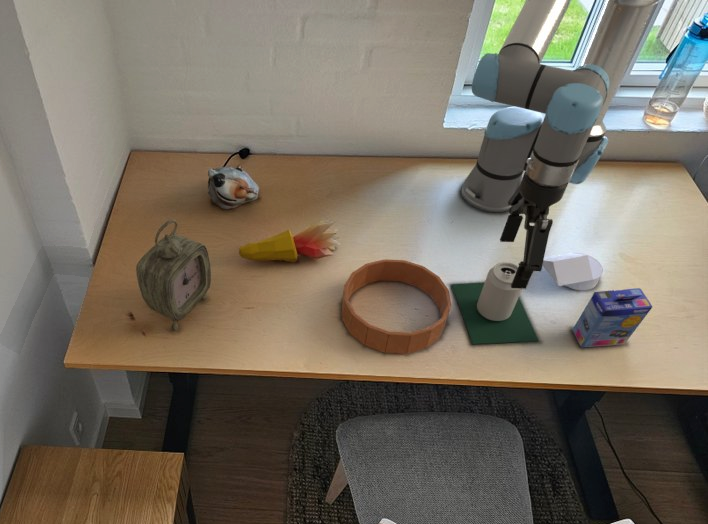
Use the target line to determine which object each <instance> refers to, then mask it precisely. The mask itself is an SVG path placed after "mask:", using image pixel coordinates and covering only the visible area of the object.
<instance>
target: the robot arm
mask: <svg viewBox="0 0 708 524" xmlns="http://www.w3.org/2000/svg"><path fill="white" fill-rule="evenodd" d="M661 1H662V0H606V2H605V5H604V7H603V9H602V11H601V14H600V17H599V20H598V22H597V24H596V27H595V30H594V32H593V34H592V37H591V40H590V42H589V45H588V47H587V50H586V52H585V56H584V57H583V60H582V63H581V65H580V66H577V67H575V68H574V69H572V70H570V69H565V68H561V67H556V66H551V65H547V64H542V61H543V59H544V57H545V55H546V53H547V51H548V48H549V46H550V45H551V43H552V41H553V39H554V36H555V35H556V32H557V30H558V29H559V27H560V25H561V23H562V21H563V19H564V17H565V15H566V12H567V11H568V8H569V7H570V5H571V2H572V0H525V2H524V3H523V6H522V8H521V9H520V12H519V13H518V15H517V17H516V19H515V21H514V22H513V25H512V27H511V28H510V30H509V32H508V34H507V36H506V38H505V40H504V41H503V43H502V46H501V47H500V50H499V51H498V53H496V52H495V53H491V52H487V53H485V54H484V55H483V56H482V57H481V58H480V60H479V62H478V63H477V66H476V68H475V71H474V74H473V78H472V81H471V93H472V95H474V97H477V98H480V99H483V100H485V101H489V102H491V103H498V104H502V105H507V106H509V107H504V108H501V109H498V110H497V111H496V112H494V113H493V114H492V115H491V116H490V117H489V120H488V122H487V126H486V128H485V130H484V133H483V134H484V135H483V138H482V142H481V145H480V146H481V147H480V150H479V153H478V157H477V160H476V163H475V165H474V167H473V168H472V169H471V170H470V172H469V174H468V175H467V177H466V178H465V179H464V181H463V184H462V186H461V196H462V198H463V199H464V200H465V202H467V204H469V205H470V206H472V207H474V208H476V209H478V210H480V211H485V212H490V213H505V212H508V215H507V219H506V221H505V224H504V226H503V230H502V232H501V235H500V238H499V241H500V243H514V242H515V240H516V237H517V235H518V232H519V229H520V227H521V225H522V221H523V219H524V225H523V229H524V230H525V231H526V233H525V241H524V248H523V259H522V261H520V262H519V263H518V266H519V267H518V269H517V272H516V274H515V277H514V279H513V282H512V284H511V288H521V289H522V290H524V289H525V290H527V287H528V285H529V283H530V280H531V278H532V275H533V273H534V272H542V269H543V266H542V265H543V260H544V258H545V256H546V250H547V245H548V240H549V235H550V232H551V229H552V226H553V223H554V222H553V221H554V220H553V219H552V218H548V216H549V214H550V207H551V206H553V205H555V204H557V203H559V202H560V201H561V200H562V199H563V197H564V194H565V193H566V190H567V188H568V185H569V184H573V185H580V184H582V183H584V182H585V181H586V180H587V178H589V175H590V174H591V173H592V171H593V169H594V168H595V166H596V165H597V163H598V162H599V160H600V158H601V156H602V154H603V152H604V151H605V150H606V148H607V146H608V143H609V140H610V139H609V138H608V137H607V136H605V134H606V132H607V127H606V125H605V123H604V122H603V121H604V119H605V116H606V114H607V112H608V110H609V107H610V105H611V103H612V100H613V98H614V96H615V94H616V92H617V89H618V87H619V84H620V83H621V80H622V78H623V76H624V73H625V71H626V69H627V67H628V65H629V62H630V60H631V58H632V56H633V53H634V52H635V49H636V47H637V44H638V42H639V40H640V39H641V35H642V34H643V31H644V28H645V26H646V24H647V22H648V20H649V17H650V15H651V13H652V11H653V9H654V6H655V5H656V4H658V3H659V2H661ZM542 114H544V117H543V115H542ZM524 216H525V217H524ZM532 224H533V225H532Z"/></svg>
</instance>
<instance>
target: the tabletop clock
mask: <svg viewBox="0 0 708 524" xmlns="http://www.w3.org/2000/svg"><path fill="white" fill-rule="evenodd" d="M173 223H174V228H173V230H172V231H171V232H170V234H169V233H168V234H165V235H164V237H162V238H161V239H160V240H159V237H160V235H161V233H162V232H163V231H164V229H165V228H167V227H168V226H169V225H170V224H173ZM177 229H178V222H177V220H176V219H168V220H167V221H165V222H164V223H163V224H162V225H161V226H160V227H159V228H158V230H157V231H156V234H155V237H154V245H153V246H152V247H150V249H149V250H147V252H146V253H145V254H144V255H143V256H142V257H141V258H140V259H139V260H138V262H137V264H136V267H135V268H136V270H135V273H136V279H137V284H138V289H139V291H140V294H141V298H142V299H143V301H144V302H145V304H146V306H147V308H149V309H150V310H151V311H153V312H156V313H157V314H160V315H162V316H164V317H166V318H168V319H169V320H171V321H172V324H171V327H170V329H171V330H172V331H173V332H175V331H178V330H179V325H178V323H177V322H179V321H181V320H183V319H184V318H185V317H186V316H188V314H189V313H190V312H191V311H192V310H193V309H194V308H195V307H196V306H197V305H198V304H199V302H200V301H205V300H207V295H206V294H207V292H208V291H209V289H210V287H211V281H212V279H211V278H212V271H211V261H210V257H209V251H208V248H207V247H206V245H205V244H202V243H200V242H198V241H196V240H192V239H190V238H188V237H185V236H183V235H180V234H178V233H177ZM158 240H159V241H158Z"/></svg>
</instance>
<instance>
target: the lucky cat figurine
mask: <svg viewBox="0 0 708 524" xmlns="http://www.w3.org/2000/svg"><path fill="white" fill-rule="evenodd" d="M207 176H208V181H207V194H208V195H209V196H210V199H211V201H212V203H213V204H214V205H216V206H218V207H219V208H220V209H223V210H226V211H227V210H229V209H235V208H237V207H239V206H241V205H244V204H246V203H249V202H253V201H256V200H258V198H259V193H260V187H259V185H258V184H257V183H256V182H255V181H254V180H253V179H252V177H251V176H250V175H249V173H247V171H245V170H244V168H243V166H242V165H240V164H239V165H237V166H236V167H235V166H226V165H225V166H220V167H216V168H214V167H211V168H210V169H209V170H208V171H207Z"/></svg>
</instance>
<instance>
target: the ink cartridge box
mask: <svg viewBox="0 0 708 524" xmlns="http://www.w3.org/2000/svg"><path fill="white" fill-rule="evenodd" d="M652 308H653V305H652V304H651V301H650V300H649V299H648V297H647V296H646V294H645V293H644V292H643V290H642V288H640V287H638V288H626V289H617V290H614V289H613V290H601V291H594V292H593V294H592V295H591V297H590V299H589V301H588V302H587V304H586V306H585V307H584V309H583V311H582V312H581V314H580V316H579V318H578V319H577V321H576V322H575V324H574V326H573V327H572V331H573V333H574V336H575V338H576V340H577V343H578V344H579V346H580V348H594V347H610V346H623V345H625V344H626V343H627V342H628V341H629V339H630V338H631V336H632V335H633V334H634V332H636V330H637V328H639V326H640V324H641V323H642V322H643V321H644V319H645V318H646V317H647V315H648V314H649V313H650V311H651V310H652Z"/></svg>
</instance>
